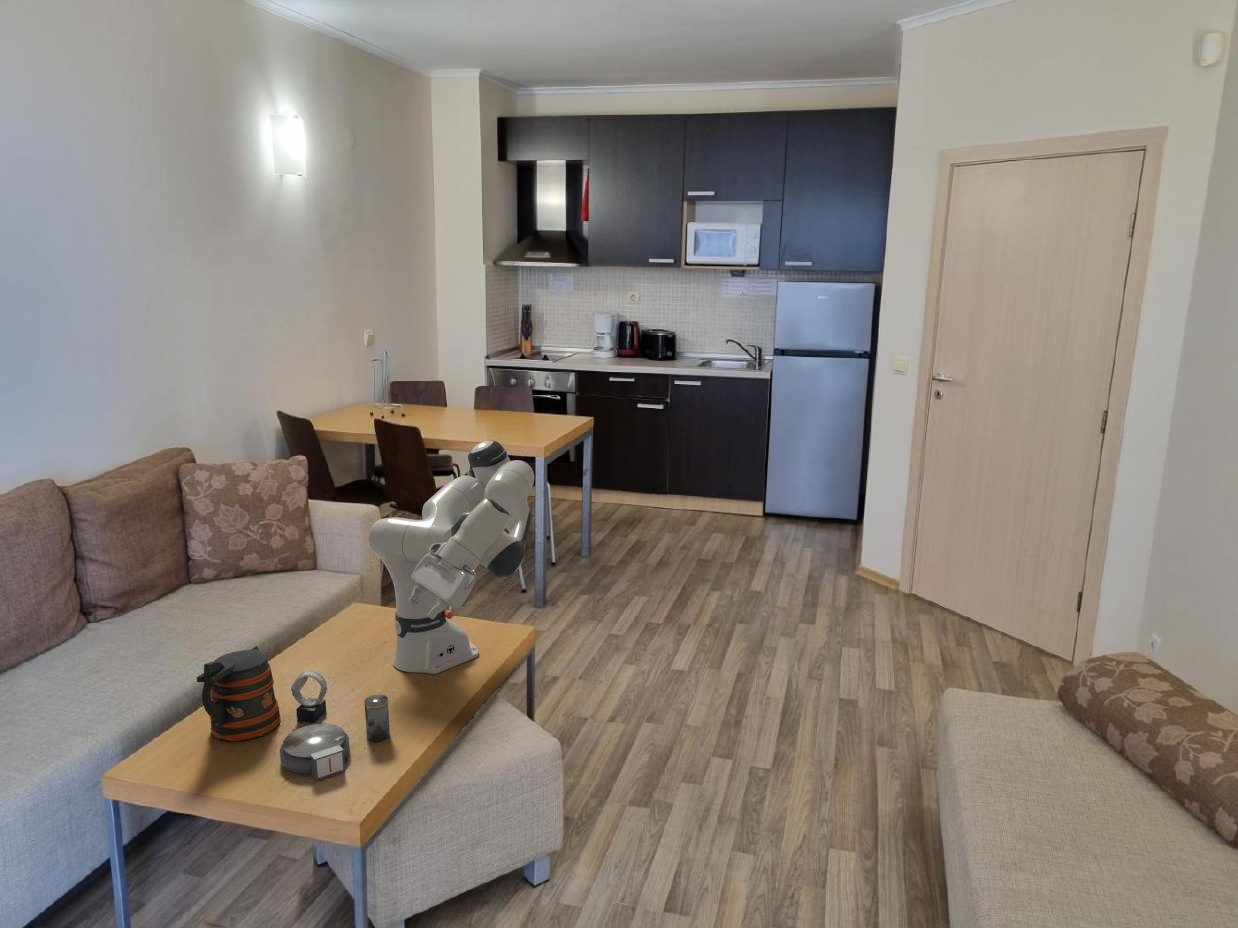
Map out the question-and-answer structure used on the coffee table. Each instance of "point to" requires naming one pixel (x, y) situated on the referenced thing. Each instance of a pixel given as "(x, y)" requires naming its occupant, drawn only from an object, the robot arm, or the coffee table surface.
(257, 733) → the beer stein
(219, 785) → the coffee table surface
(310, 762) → the scale
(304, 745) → the pan
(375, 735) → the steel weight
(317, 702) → the watch
